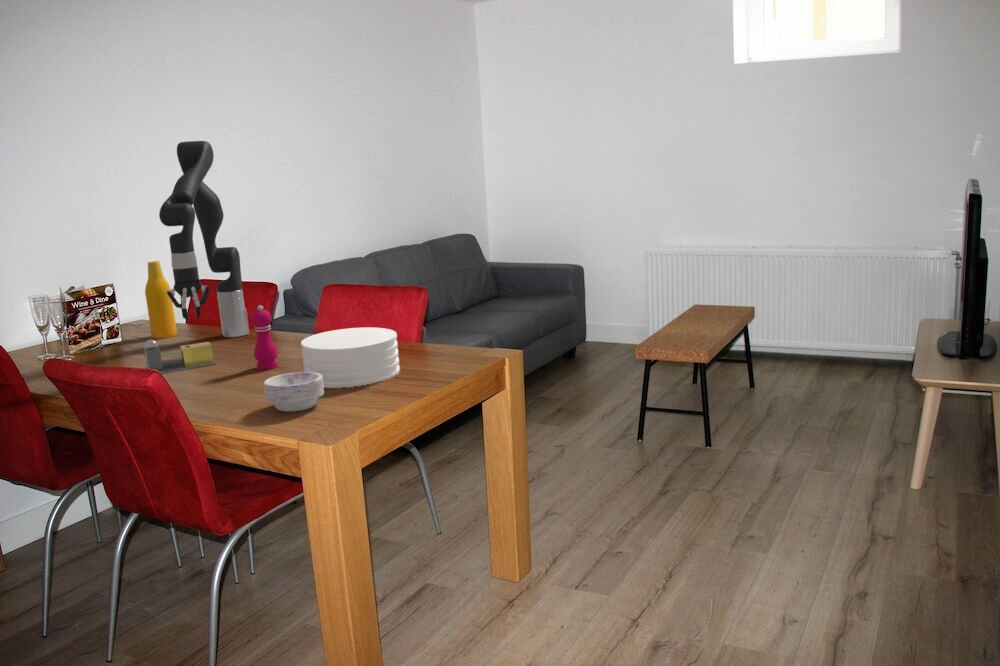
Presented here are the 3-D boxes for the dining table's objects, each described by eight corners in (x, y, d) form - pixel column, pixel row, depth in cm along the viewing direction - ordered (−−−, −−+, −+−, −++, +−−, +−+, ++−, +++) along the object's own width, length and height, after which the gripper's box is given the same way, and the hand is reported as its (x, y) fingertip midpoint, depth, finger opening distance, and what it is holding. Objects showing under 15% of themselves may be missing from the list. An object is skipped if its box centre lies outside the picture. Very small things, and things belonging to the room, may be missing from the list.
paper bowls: (316, 395, 235) (313, 367, 233) (332, 408, 221) (329, 378, 220) (260, 405, 228) (257, 377, 226) (274, 420, 214) (270, 389, 213)
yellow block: (210, 357, 284) (208, 341, 283) (213, 360, 279) (211, 344, 278) (182, 362, 280) (180, 345, 279) (184, 365, 275) (182, 348, 274)
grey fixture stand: (209, 357, 287) (205, 328, 285) (216, 364, 277) (211, 334, 275) (146, 367, 278) (141, 337, 276) (150, 375, 268) (145, 344, 265)
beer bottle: (182, 334, 329) (171, 260, 323) (162, 339, 321) (150, 263, 315) (167, 332, 334) (156, 259, 328) (146, 338, 326) (135, 263, 320)
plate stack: (418, 367, 258) (415, 330, 256) (359, 392, 235) (355, 352, 233) (347, 360, 273) (344, 325, 270) (285, 383, 249) (280, 345, 247)
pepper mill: (250, 369, 267) (242, 307, 263) (267, 363, 274) (259, 302, 269) (268, 371, 264) (260, 308, 260) (284, 365, 270) (276, 303, 266)
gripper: (163, 270, 266) (171, 323, 270) (209, 264, 273) (216, 317, 277) (160, 267, 273) (168, 320, 277) (205, 262, 279) (212, 314, 283)
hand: (192, 318), depth 277 cm, fingers open, 3 cm apart
